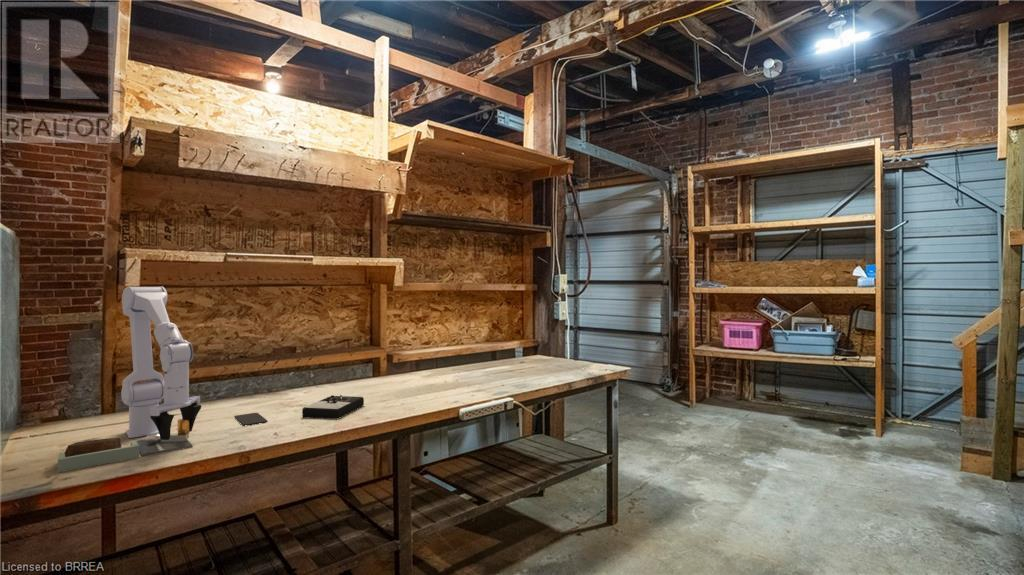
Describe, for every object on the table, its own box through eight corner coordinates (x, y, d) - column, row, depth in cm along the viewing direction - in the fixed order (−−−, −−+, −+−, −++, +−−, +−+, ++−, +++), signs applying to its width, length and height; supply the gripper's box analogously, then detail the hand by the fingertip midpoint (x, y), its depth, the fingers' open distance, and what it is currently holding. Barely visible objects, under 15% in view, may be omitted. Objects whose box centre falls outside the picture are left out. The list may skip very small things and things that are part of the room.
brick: (121, 454, 132) (121, 436, 132) (115, 459, 128) (115, 440, 128) (71, 459, 128) (71, 441, 128) (63, 464, 125) (63, 445, 125)
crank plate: (135, 443, 141) (135, 440, 141) (181, 435, 148) (181, 432, 148) (142, 456, 130) (142, 453, 130) (192, 447, 137) (192, 444, 137)
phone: (257, 412, 174) (268, 420, 162) (257, 414, 174) (268, 423, 162) (233, 415, 169) (243, 424, 157) (233, 418, 169) (243, 427, 157)
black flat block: (364, 406, 185) (364, 393, 185) (337, 420, 166) (337, 405, 166) (331, 405, 187) (331, 391, 187) (301, 418, 168) (301, 403, 168)
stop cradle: (57, 466, 123) (57, 453, 123) (136, 451, 133) (136, 440, 133) (57, 472, 119) (57, 459, 119) (139, 457, 129) (139, 445, 129)
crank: (143, 443, 137) (143, 423, 137) (151, 438, 141) (151, 419, 141) (186, 440, 140) (186, 421, 140) (192, 436, 143) (192, 417, 143)
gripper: (166, 392, 131) (166, 444, 131) (209, 381, 145) (209, 428, 145) (143, 391, 132) (143, 442, 132) (188, 380, 146) (188, 427, 147)
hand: (176, 435), depth 139 cm, fingers open, 7 cm apart
